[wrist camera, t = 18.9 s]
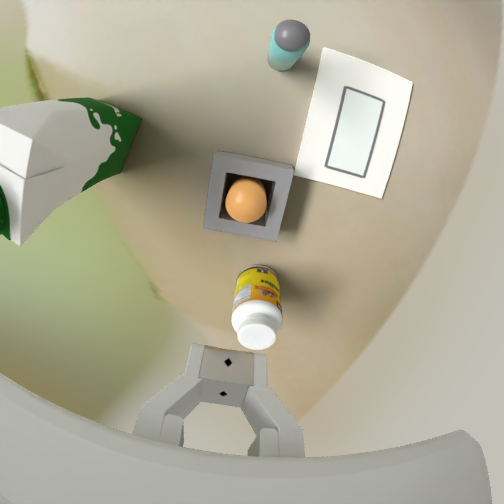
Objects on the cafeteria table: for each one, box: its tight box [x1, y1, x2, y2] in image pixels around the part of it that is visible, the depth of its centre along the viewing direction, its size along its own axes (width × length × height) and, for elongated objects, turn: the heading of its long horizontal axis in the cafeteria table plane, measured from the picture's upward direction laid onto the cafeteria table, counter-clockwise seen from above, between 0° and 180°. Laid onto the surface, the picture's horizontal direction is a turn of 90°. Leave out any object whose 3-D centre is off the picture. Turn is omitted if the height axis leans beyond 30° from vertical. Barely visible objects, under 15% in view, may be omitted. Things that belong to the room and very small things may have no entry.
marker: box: [268, 20, 310, 71], centre depth 18 cm, size 3×3×10 cm
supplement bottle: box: [232, 265, 283, 350], centre depth 32 cm, size 6×6×10 cm
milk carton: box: [0, 98, 142, 246], centre depth 18 cm, size 9×9×20 cm
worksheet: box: [293, 47, 413, 199], centre depth 26 cm, size 15×11×1 cm
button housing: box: [203, 151, 294, 242], centre depth 29 cm, size 8×8×3 cm
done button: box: [226, 176, 267, 223], centre depth 28 cm, size 4×4×3 cm
